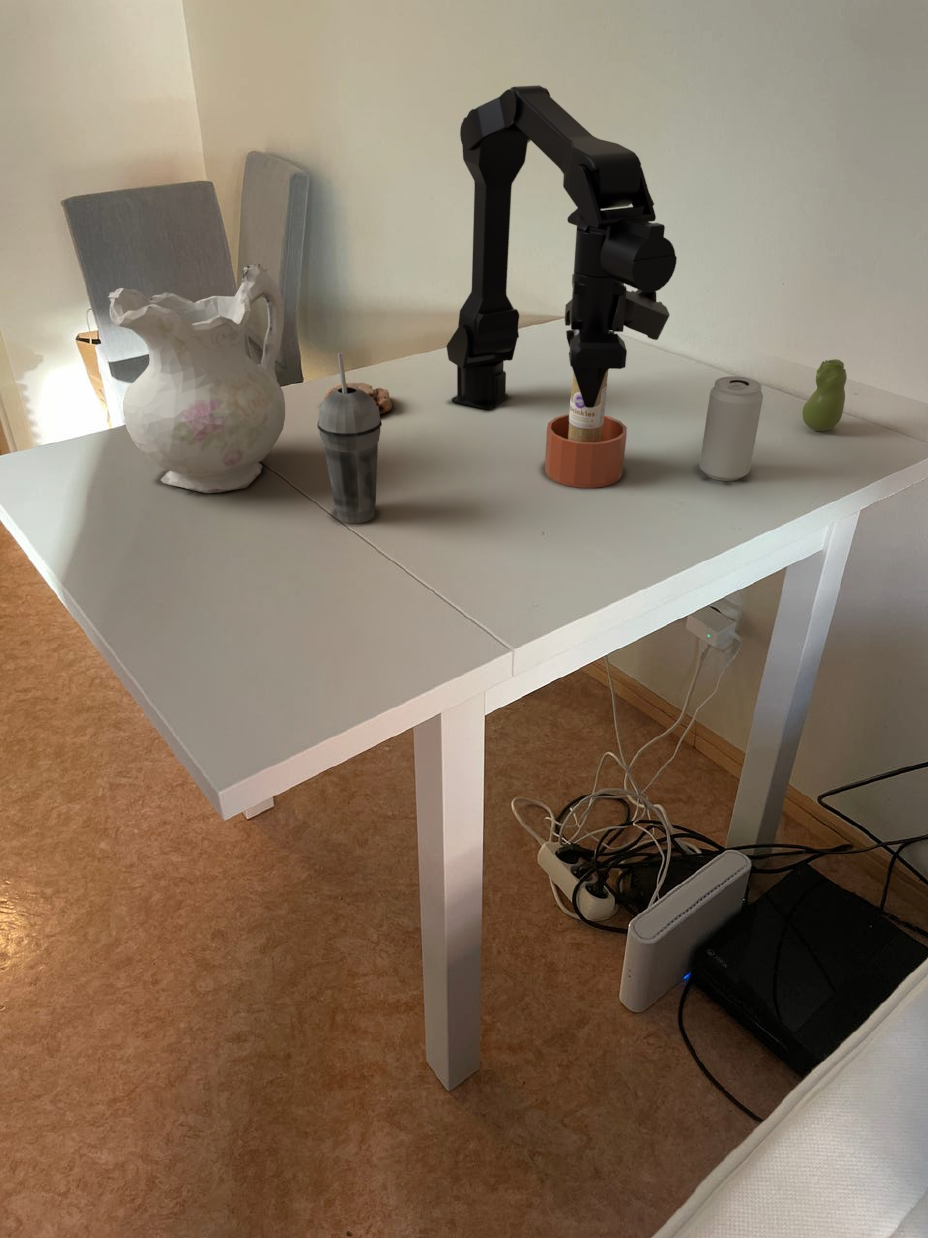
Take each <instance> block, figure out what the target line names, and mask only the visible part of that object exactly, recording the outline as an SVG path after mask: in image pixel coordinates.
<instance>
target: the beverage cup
mask: <svg viewBox="0 0 928 1238" xmlns="http://www.w3.org/2000/svg"><path fill="white" fill-rule="evenodd" d="M343 357H344V355H343V352H341V351H339V352H337V361H338V368H339V376H340V383H341V384H342V388H339V389H336V390H335V391H333V392H331V393H330V394H329V395H328V396H327V397H326V398H325V397H324V398H325V400H324V399H323V401H322V403H321V405H320V407H319V411H318V420H317V429H318V430H319V436H320V440H321V443H322V444H323V448H324V454H325V457H326V458H325V460H326V465H327V470H328V476H329V481H330V482H329V483H330V487H331V493H332V499H333V505H334V507H335V512H336V517H337V519H338V520H339V521H341V522H343V523H346V524H353V525H355V524H362V523H367V522H369V521H371V520H372V519H374V517H375V516H376V514H375V510H376V504H377V479H378V478H377V477H378V448H379V441H380V436H381V427H382V425H383V423H382V418H381V417H380V415H381V414H380V415H379V411H378V408H377V405H376V403H375V402H374V400H373V399H372V398H371V397H370V396H369V395H368V394H367V393H366V392H364V391H362V390H360V389H358V388H354V387H346V383H347V381H346V373H345V364H344V358H343ZM341 384H340V385H341Z"/></svg>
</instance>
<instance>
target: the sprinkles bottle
mask: <svg viewBox="0 0 928 1238" xmlns="http://www.w3.org/2000/svg"><path fill="white" fill-rule="evenodd" d="M572 371H573V370H572ZM608 377H609V369H608V370H607V372H606V374H605V377H604V379H603V382H602V385H601V388H600V391H599V394H598V397H597V400H596V403H595V406H594V407H593V408H587V407H585V405H584V402H583V399H582V396H581V393H580V390H579V386H578V384H577V380H576V377H575V374H574V371H573V373H572V384H571V396H570V399H569V400H570V402H569V413H568V414H569V433H568V440H573V441H577V442H592V443H593V442H602V441H601V439H602V428H603V423H604V416H605V413H606V412H605V411H606V401H607V390H608Z"/></svg>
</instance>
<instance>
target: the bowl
mask: <svg viewBox="0 0 928 1238" xmlns="http://www.w3.org/2000/svg"><path fill="white" fill-rule="evenodd" d="M627 432H628V427H627V426H626V425H625V424H624V423H623V422H622V421H621V420H618V419H617V418H614V417H612V416H610V415H609V416H608V415H604V423H603V428H602V439H601V441H602V442H593V443H592V442H577V441H573V440H568V433H569V413H566V414H563V415H559V416H556V417H554V418H553V419H551V420H549V422H548V423H547V427H546V440H545V455H544V456H545V459H544V473H545V474H546V476H547V477H548V478H549V479H550V480H552V481H554V482H556V483H558V484H561V485H563V486H568V487H571V488H579V489H580V488H581V489H595V488H603V487H607V486H610V485H613V484H615V483H617V482H618V481H619V480H620V479H621V478H622V477H623V473H624V465H625V456H626V455H625V454H626V446H627V445H626V444H627V434H628V433H627Z"/></svg>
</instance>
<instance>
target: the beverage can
mask: <svg viewBox="0 0 928 1238" xmlns="http://www.w3.org/2000/svg"><path fill="white" fill-rule="evenodd" d="M762 385H763V384H762V383H760V382H759V381H757V380H755V379H753V378H749V377H746V376H735V375H734V376H730V375H729V376H722V377H719V378H717V379H716V380H714V386H713V387H712V388H711V389H710V392H709V398H708V404H707V411H706V419H705V425H704V432H703V439H702V444H701V451H700V457H699V458H700V459H699V468H700V469H701V471H702V472H704V474H705V475H706V476H707V477H708V478H711V479H714V480H716V481H721V482H734V481H738V480H740V479H741V478H743V477H745V476H747V475H748V474H749V472H751V468H752V467H751V466H752V461H753V457H754V456H753V455H754V450H755V444H756V438H757V433H758V429H759V422H760V417H761V412H762V411H761V409H762V407H763V406H762V405H763V401H764V394H763V392H762V387H763V386H762Z"/></svg>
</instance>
